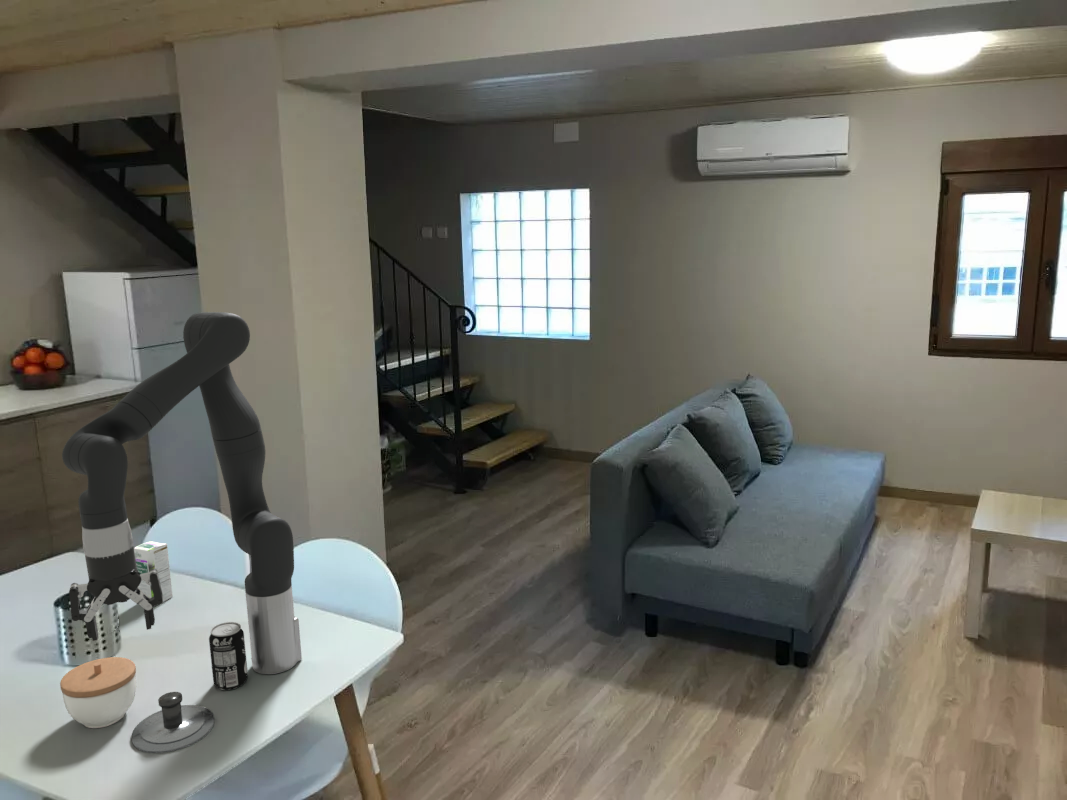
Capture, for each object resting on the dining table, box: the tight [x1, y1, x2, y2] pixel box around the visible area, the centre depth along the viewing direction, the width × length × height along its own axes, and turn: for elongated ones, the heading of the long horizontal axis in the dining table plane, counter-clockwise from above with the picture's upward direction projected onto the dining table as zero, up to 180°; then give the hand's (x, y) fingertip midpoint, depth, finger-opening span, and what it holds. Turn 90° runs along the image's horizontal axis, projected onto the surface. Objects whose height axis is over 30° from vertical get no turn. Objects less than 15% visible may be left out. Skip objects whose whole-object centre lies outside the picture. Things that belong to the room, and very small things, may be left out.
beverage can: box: [208, 621, 249, 691], centre depth 167 cm, size 7×7×12 cm
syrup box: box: [134, 540, 173, 607], centre depth 206 cm, size 6×6×14 cm
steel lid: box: [131, 691, 215, 754], centre depth 152 cm, size 14×14×7 cm
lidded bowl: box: [59, 656, 137, 729], centre depth 156 cm, size 13×13×11 cm
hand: (122, 633), depth 146 cm, fingers open, 8 cm apart
